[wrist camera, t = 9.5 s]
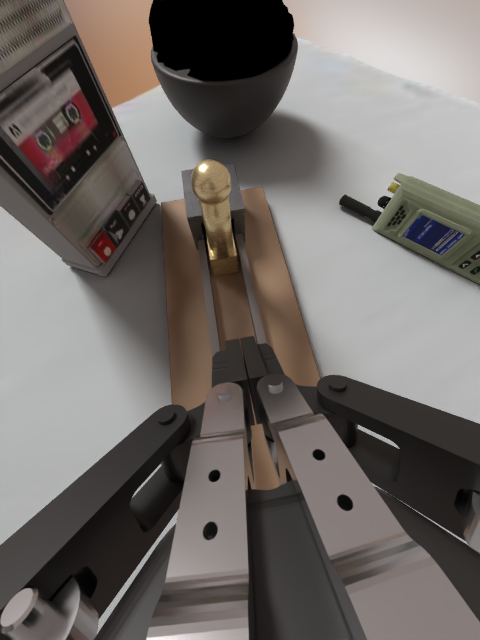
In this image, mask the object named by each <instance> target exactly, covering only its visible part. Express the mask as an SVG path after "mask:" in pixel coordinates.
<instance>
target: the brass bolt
mask: <svg viewBox="0 0 480 640" xmlns="http://www.w3.org/2000/svg"><path fill="white" fill-rule="evenodd" d="M231 185H232V182H231V176H230V173H229V171H228V170H227V168H226V167H225V166H224V165H223V164H222V163H221V162H219V161H217V160H214V159H206V160H203V161H201V162H200V163H198V164H197V165H196V167H195V168H194V170H193V172H192V176H191V186H192V190H193V192H194V194H195V196H196V197H197V199H198V200H199V203H200V207H201V212H202V216H203V220H204V225H205V229H206V236H207V243H208V249H209V256H210V262H211V266H212V270H213V274H214V276H220V275H226V274H232V273H238V262H237V253H236V248H235V243H234V239H233V234H232V226H231V215H230V204H229V194H230V191H231Z"/></svg>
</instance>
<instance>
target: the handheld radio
mask: <svg viewBox="0 0 480 640" xmlns="http://www.w3.org/2000/svg"><path fill="white" fill-rule="evenodd" d="M394 180H396V181H397V182H399V183H400V184H401V185H398V184H396V183H395V184H394V182H393V183H391V185H390V186H389V188H388V191H390V192H392V193H395V194H394V195H393V197H392V198H390V197H387V196H383V197H381V198H380V199H379V200H378V206H380V207H382V208H383V209H384V210H383V212H380V211H378V210H377V211H375V210H373V209H371V208H370V207H368V206H366V205H364V204H362V203H360V202H359V201H357V200H355V199H353V198H351V197H349V196H347V195H344V196H343V197H342V198H341V199H340V202H339V204H340V205H342V206H344V207H346V208H348V209H350V210H352V211H354V212H356V213H358V214H360V215H362V216H364V217H365V216H366V217H368V218H370V219H371V220H372V221H374V222H376V223H375V224H374V226H373V227H372V229H373V230H374V231H376V232H378V233H380V234H382V235H384V236H386V237H388V238H390V239H392V240H394V241H396V242H397V243H399V244H401V245H403V246H405V247H407V248H409V249H411V250H413V251H415V252H417V253H419V254H421V255H423V256H425V257H427V258H429V259H431V260H433V261H434V262H436V263H438V264H440V265H442V266H444V267H446V268H448V269H450V270H452V271H454V272H456V273H458V274H460V275H462V276H464V277H466V278H468V279H470V280H471V281H473V282H475V283H477V284H479V285H480V205H478V204H475V203H473V202H471V201H468V200H466V199H464V198H461V197H459V196H456V195H454V194H452V193H449V192H447V191H445V190H442V189H440V188H438V187H435V186H433V185H431V184H428V183H426V182H423V181H421V180H419V179H416V178H414V177H410V176H406V175H403V174H400V173H398V174H397V175H396V176H395V177H394ZM386 202H387V203H386ZM385 204H386V205H385ZM383 206H384V207H383Z"/></svg>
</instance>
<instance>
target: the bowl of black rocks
mask: <svg viewBox="0 0 480 640" xmlns="http://www.w3.org/2000/svg"><path fill="white" fill-rule="evenodd" d="M149 25H150V30H151V36H152V43H153V47H152V50H151V60H152V64H153V67H154V70H155V73H156V75H157V77H158V80H159V82H160V84H161V86H162V88H163V90H164V92H165V94H166V95H167V97H168V99H169V100H170V102H171V103H172V105H173V106H174V108H175V109H176V110H177V111H178V112H179V114H180V115H181V116H182V117H183V118H184V119H185V120H186V121H187V122H189V123H190V124H191V125H192V126H194V127H195V128H197V129H198V130H200V131H202V132H204V133H206V134H208V135H211V136H215V137H221V138H232V137H237V136H241V135H244V134H246V133H249V132H250V131H252V130H254V129H255V128H257V127H258V126H259V125H261V124H262V123H263V122H264V121H265V120H266V119H267V118H268V117H269V116H270V115H271V114H272V112H273V111H274V110H275V108H276V107H277V105H278V104H279V102H280V100H281V98H282V97H283V95H284V93H285V91H286V88H287V86H288V83H289V81H290V78H291V75H292V72H293V69H294V65H295V60H296V56H297V50H298V43H297V39H296V37H295V35H294V34H293V29H294V22H293V17H292V15H291V14H290V13H289V12H288V8H287V7H286V6H285V5H284V4H283V2H282V0H153V4H152V6H151V9H150V16H149Z"/></svg>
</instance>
